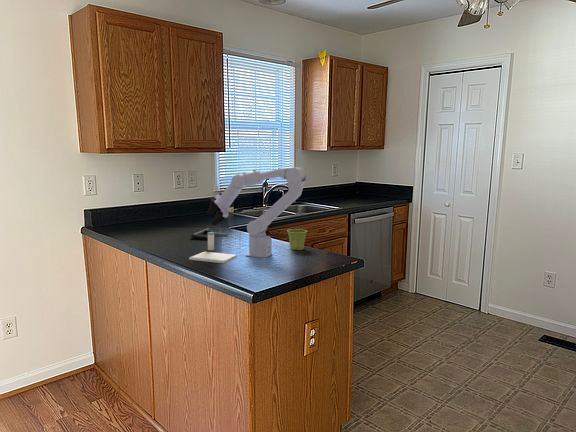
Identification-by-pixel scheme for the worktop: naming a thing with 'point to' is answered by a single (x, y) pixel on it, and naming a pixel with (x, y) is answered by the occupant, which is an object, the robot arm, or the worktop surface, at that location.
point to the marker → (210, 241)
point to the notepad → (213, 257)
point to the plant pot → (297, 238)
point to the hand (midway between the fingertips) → (211, 219)
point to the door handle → (206, 234)
